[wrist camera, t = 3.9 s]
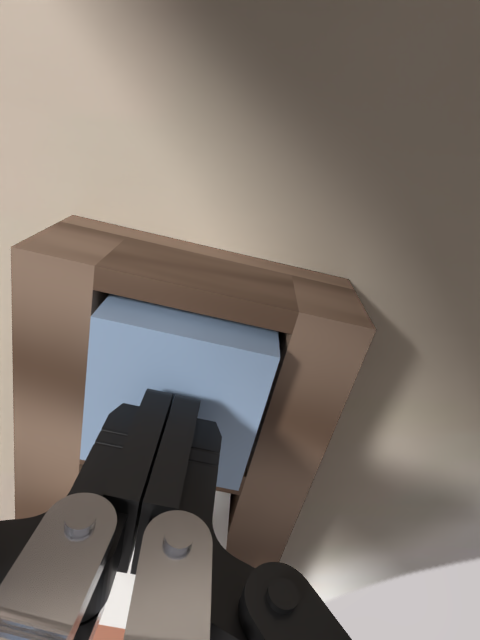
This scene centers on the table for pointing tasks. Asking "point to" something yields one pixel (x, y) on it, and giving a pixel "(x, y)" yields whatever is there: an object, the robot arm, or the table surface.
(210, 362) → the slate blue key
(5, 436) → the table surface
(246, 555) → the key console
